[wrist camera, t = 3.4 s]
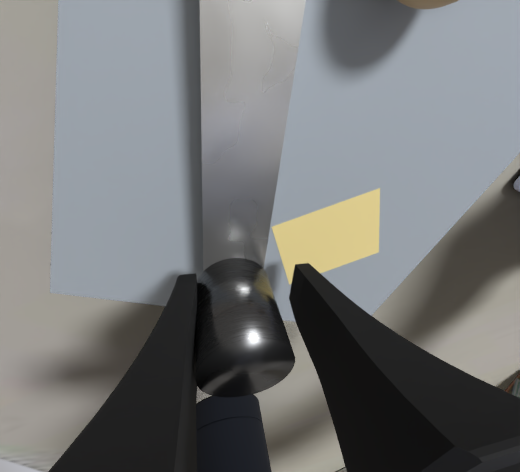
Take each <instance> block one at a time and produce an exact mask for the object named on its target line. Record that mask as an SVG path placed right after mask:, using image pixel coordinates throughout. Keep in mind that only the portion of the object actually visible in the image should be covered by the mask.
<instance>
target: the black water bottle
mask: <svg viewBox="0 0 520 472" xmlns="http://www.w3.org/2000/svg"><path fill="white" fill-rule="evenodd" d="M196 440H197V472H271V467H270V461H269V456H268V450H267V445H266V439H265V434H264V429H263V423H262V418H261V412H260V407H259V401H258V399H257V398H256V397H255V396H254V395H252V394H251V395H247V396H241V397H217V396H212V397H209V398H207V399H205V400H203V401H201V402H200V403H198V404H197V405H196Z"/></svg>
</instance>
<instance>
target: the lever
mask: <svg viewBox="0 0 520 472" xmlns="http://www.w3.org/2000/svg"><path fill="white" fill-rule="evenodd" d="M305 3H306V0H199V22H200V89H201V157H202V224H203V273H202V274H201V275H200V277H199V278H198V281H197V316H196V373H195V380H196V384H197V386H198V387H199V388H200V389H201V390H202V391H203V392H205V393H207V394H209V395H212V396H217V397H241V396H247V395H251V394H255V393H258V392H261V391H263V390H266V389H268V388H270V387H272V386H274V385H276V384H277V383H279V382H280V381H281V380H283V379H284V378H285V377H286V376H287V375H288V374H289V373H290V372H291V370H292V369H293V366H294V363H295V357H294V353H293V350H292V347H291V344H290V341H289V338H288V335H287V332H286V329H285V326H284V323H283V320H282V317H281V314H280V311H279V308H278V305H277V302H276V299H275V297H274V294H273V291H272V288H271V285H270V282H269V279H268V276H267V273H266V271H265V270H264V263H265V256H266V250H267V244H268V237H269V231H270V225H271V218H272V212H273V206H274V199H275V193H276V187H277V180H278V174H279V168H280V161H281V155H282V149H283V142H284V136H285V130H286V123H287V117H288V111H289V104H290V98H291V92H292V85H293V79H294V73H295V66H296V60H297V54H298V47H299V41H300V35H301V28H302V22H303V16H304V9H305Z"/></svg>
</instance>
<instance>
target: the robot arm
mask: <svg viewBox="0 0 520 472" xmlns="http://www.w3.org/2000/svg"><path fill="white" fill-rule="evenodd" d="M514 189H515V190H517V191H519V192H520V176H519V177H518V178H517V180H516V181H515V183H514ZM289 300H290V304H291V308H292V311H293V315H294V318H295V321H296V324H297V326H298V328H299V331H300V333H301V336H302V338H303V340H304V343H305V345H306V347H307V350H308V352H309V355H310V357H311V359H312V362H313V364H314V366H315V369H316V371H317V374H318V376H319V379H320V382H321V385H322V388H323V391H324V394H325V397H326V401H327V404H328V407H329V410H330V414H331V417H332V420H333V424H334V427H335V430H336V434H337V437H338V441H339V445H340V448H341V452H342V455H343V459H344V463H345V466H346V470H347V472H520V398H519V397H516V396H514V395H512V394H510V393H508V392H506V391H503V390H501V389H499V388H497V387H495V386H493V385H490V384H488V383H486V382H484V381H482V380H480V379H477V378H475V377H473V376H471V375H469V374H467V373H465V372H464V371H462V370H460V369H458V368H456V367H454V366H452V365H450V364H448V363H446V362H444V361H443V360H441V359H439V358H437V357H435V356H433V355H432V354H430V353H428V352H426V351H425V350H423V349H421V348H420V347H418V346H416V345H415V344H413V343H411V342H410V341H408V340H406V339H405V338H403V337H402V336H400V335H398V334H397V333H395V332H394V331H392V330H391V329H389V328H388V327H386V326H385V325H384V324H382V323H381V322H379V321H378V320H376V319H375V318H374V317H372V316H371V315H370V314H368V313H367V312H366V311H364V310H363V309H362V308H360V307H359V306H358V305H357V304H355V303H354V302H353V301H352V300H350V299H349V298H348V297H347V296H345V295H344V294H343V293H342V292H341V291H340V290H338V289H337V288H336V287H335V286H334V285H333V284H332V283H330V282H329V281H328V280H327V279H326V278H325V277H324V276H323V275H321V274H320V273H319V272H318V271H317V270H316V269H315V268H314V267H313V266H311V265H310V264H309V263H304V264H295V267H294V273H293V278H292V284H291V289H290V295H289ZM196 316H197V275H196V273H194V274H183V275H179V276H178V277H177V280H176V283H175V286H174V288H173V291H172V293H171V296H170V298H169V300H168V302H167V304H166V306H165V308H164V310H163V312H162V314H161V316H160V318H159V320H158V322H157V324H156V326H155V328H154V329H153V331H152V333H151V334H150V336H149V338H148V340H147V341H146V343H145V345H144V347H143V348H142V350H141V351H140V353H139V354H138V356H137V358H136V359H135V361H134V362H133V364H132V365H131V367H130V368H129V370H128V371H127V373H126V374H125V376H124V377H123V378H122V380H121V381H120V383H119V384H118V385H117V387H116V388H115V389H114V391H113V392H112V394H111V395H110V396H109V398H108V399H107V400H106V402H105V403H104V404H103V406H102V407H101V408H100V410H99V411H98V412H97V413H96V415H95V416H94V417H93V419H92V420H91V421H90V422H89V423H88V425H87V426H86V427H85V428H84V430H83V431H82V432H81V433H80V434H79V436H78V437H77V438H76V439H75V441H74V442H73V443H72V444H71V445H70V447H69V448H68V449H67V450H66V451H65V453H64V454H63V455H62V456H61V458H60V459H59V460H58V461H57V462H56V463H55V465H54V466H53V467H52V468H51V469H50V470H49V472H197V440H196V395H197V384H196V380H195V373H196Z"/></svg>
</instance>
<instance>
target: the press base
mask: <svg viewBox="0 0 520 472" xmlns="http://www.w3.org/2000/svg"><path fill="white" fill-rule="evenodd" d="M519 153H520V0H306V3H305V9H304V16H303V22H302V28H301V35H300V41H299V47H298V54H297V60H296V66H295V73H294V79H293V85H292V92H291V98H290V104H289V111H288V117H287V123H286V130H285V136H284V142H283V149H282V155H281V161H280V168H279V174H278V180H277V187H276V193H275V199H274V206H273V212H272V218H271V225H270V231H269V237H268V244H267V250H266V256H265V263H264V270H265V271H266V273H267V276H268V279H269V282H270V285H271V288H272V291H273V294H274V297H275V299H276V302H277V305H278V308H279V311H280V314H281V317H282V320H286V321H295V318H294V315H293V311H292V308H291V304H290V300H289V295H290V289H291V284H292V278H293V273H294V267H295V264H304V263H309V264H310V265H311V266H313V267H314V268H315V269H316V270H317V271H318V272H319V273H320V274H321V275H323V276H324V277H325V278H326V279H327V280H328V281H329V282H330V283H332V284H333V285H334V286H335V287H336V288H337V289H338V290H340V291H341V292H342V293H343V294H344V295H345V296H347V297H348V298H349V299H350V300H352V301H353V302H354V303H355V304H357V305H358V306H359V307H360V308H362V309H363V310H364V311H366V312H367V313H368V314H370V315H372V314H373V313H374V312H375V311H376V310H377V309H378V308H379V307H380V306H381V304H382V303H383V302H384V301H385V300H386V299H387V298H388V297H389V296H390V295H391V293H392V292H393V291H394V290H395V289H396V288H397V287H398V286H399V285H400V284H401V282H402V281H403V280H404V279H405V278H406V277H407V276H408V275H409V274H410V273H411V271H412V270H413V269H414V268H415V267H416V266H417V265H418V264H419V263H420V262H421V261H422V259H423V258H424V257H425V256H426V255H427V254H428V253H429V252H430V251H431V250H432V248H433V247H434V246H435V245H436V244H437V243H438V242H439V241H440V240H441V239H442V237H443V236H444V235H445V234H446V233H447V232H448V231H449V230H450V229H451V228H452V226H453V225H454V224H455V223H456V222H457V221H458V220H459V219H460V218H461V217H462V215H463V214H464V213H465V212H466V211H467V210H468V209H469V208H470V207H471V206H472V205H473V203H474V202H475V201H476V200H477V199H478V198H479V197H480V196H481V195H482V194H483V192H484V191H485V190H486V189H487V188H488V187H489V186H490V185H491V184H492V183H493V181H494V180H495V179H496V178H497V177H498V176H499V175H500V174H501V173H502V172H503V170H504V169H505V168H506V167H507V166H508V165H509V164H510V163H511V162H512V161H513V159H514V158H515V157H516V156H517V155H518V154H519ZM194 273H196V275H197V281H198V278H199V277H200V275H201V274H202V273H203V224H202V157H201V89H200V22H199V0H58V34H57V69H56V104H55V138H54V173H53V208H52V242H51V277H50V293H57V294H66V295H74V296H83V297H91V298H100V299H108V300H117V301H125V302H134V303H142V304H151V305H159V306H166V304H167V302H168V300H169V298H170V296H171V293H172V291H173V288H174V286H175V283H176V280H177V277H178V276H179V275H183V274H194ZM295 322H296V321H295Z"/></svg>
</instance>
